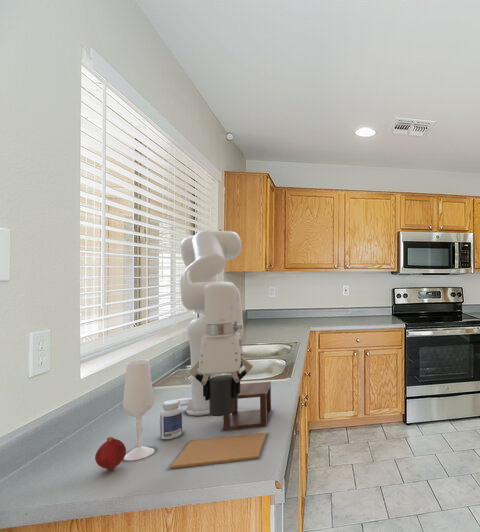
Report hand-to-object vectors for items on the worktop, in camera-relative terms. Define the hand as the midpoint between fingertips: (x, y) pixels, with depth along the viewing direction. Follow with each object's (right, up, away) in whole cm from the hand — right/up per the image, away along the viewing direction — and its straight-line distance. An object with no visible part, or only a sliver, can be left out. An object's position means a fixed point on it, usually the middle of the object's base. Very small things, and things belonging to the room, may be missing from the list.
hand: (222, 397), depth 98 cm
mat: (0, -14, 0) cm, 14 cm away
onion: (-22, -15, -9) cm, 28 cm away
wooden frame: (-1, -14, +19) cm, 24 cm away
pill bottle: (-19, -15, +9) cm, 26 cm away
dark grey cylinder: (0, -4, 0) cm, 4 cm away
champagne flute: (-21, -15, -1) cm, 26 cm away
